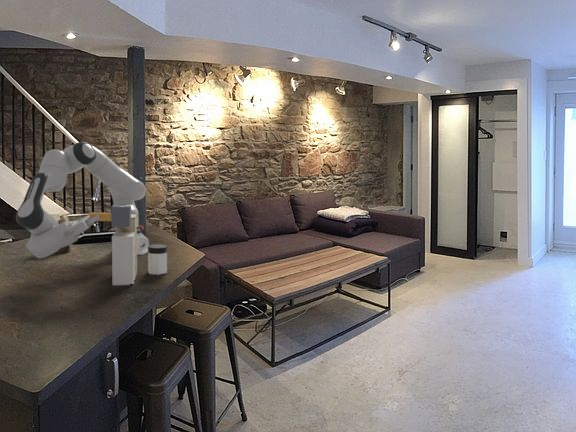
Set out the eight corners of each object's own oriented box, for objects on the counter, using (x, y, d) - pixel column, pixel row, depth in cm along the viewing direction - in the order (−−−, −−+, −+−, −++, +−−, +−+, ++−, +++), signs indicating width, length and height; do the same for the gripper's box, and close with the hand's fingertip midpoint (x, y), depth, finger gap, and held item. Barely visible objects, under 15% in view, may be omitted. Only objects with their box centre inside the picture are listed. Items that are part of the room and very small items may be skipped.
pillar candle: (73, 251, 248) (73, 223, 246) (56, 254, 240) (55, 225, 238) (62, 249, 253) (61, 221, 251) (44, 252, 245) (43, 223, 243)
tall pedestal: (115, 277, 204) (115, 217, 200) (118, 272, 212) (117, 214, 209) (135, 277, 206) (135, 217, 202) (137, 272, 214) (136, 214, 211)
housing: (88, 226, 189) (88, 206, 188) (91, 223, 195) (91, 204, 194) (129, 226, 192) (129, 207, 191) (131, 224, 199) (131, 205, 198)
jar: (160, 268, 221) (160, 243, 219) (171, 272, 216) (171, 246, 214) (143, 272, 214) (143, 246, 213) (154, 276, 209) (154, 249, 208)
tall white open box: (112, 285, 193) (111, 236, 190) (115, 279, 202) (114, 232, 199) (133, 284, 195) (132, 236, 192) (135, 278, 204) (134, 232, 201)
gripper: (57, 230, 180) (91, 212, 182) (69, 221, 200) (99, 205, 201) (66, 244, 181) (100, 226, 183) (77, 234, 201) (107, 218, 203)
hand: (100, 215), depth 192 cm, fingers closed on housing, 3 cm apart
